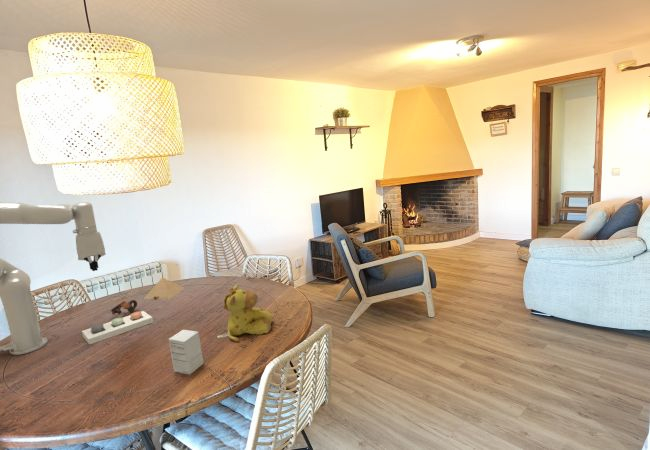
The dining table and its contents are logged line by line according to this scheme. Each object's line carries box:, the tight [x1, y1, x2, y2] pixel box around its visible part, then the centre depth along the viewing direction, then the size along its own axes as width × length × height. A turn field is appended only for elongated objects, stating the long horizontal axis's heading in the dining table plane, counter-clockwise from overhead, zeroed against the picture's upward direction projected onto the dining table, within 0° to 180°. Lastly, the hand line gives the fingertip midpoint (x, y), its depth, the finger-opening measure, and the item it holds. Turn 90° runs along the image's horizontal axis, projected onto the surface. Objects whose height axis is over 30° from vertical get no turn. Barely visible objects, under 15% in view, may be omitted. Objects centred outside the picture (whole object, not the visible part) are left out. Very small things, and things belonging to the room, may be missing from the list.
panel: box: [81, 310, 154, 346], centre depth 168 cm, size 26×12×2 cm, turn 134°
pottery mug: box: [110, 299, 138, 317], centre depth 184 cm, size 12×10×8 cm
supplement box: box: [168, 329, 204, 376], centre depth 130 cm, size 7×7×13 cm
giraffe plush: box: [217, 283, 274, 343], centre depth 156 cm, size 20×24×19 cm
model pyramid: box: [143, 277, 186, 300], centre depth 210 cm, size 17×17×10 cm
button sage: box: [110, 317, 124, 327], centre depth 167 cm, size 5×5×4 cm
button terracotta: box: [131, 311, 142, 321], centre depth 173 cm, size 5×5×4 cm
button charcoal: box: [90, 323, 104, 334], centre depth 162 cm, size 5×5×4 cm
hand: (94, 270), depth 167 cm, fingers closed
